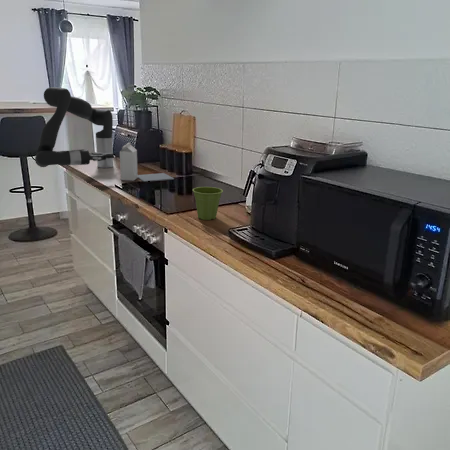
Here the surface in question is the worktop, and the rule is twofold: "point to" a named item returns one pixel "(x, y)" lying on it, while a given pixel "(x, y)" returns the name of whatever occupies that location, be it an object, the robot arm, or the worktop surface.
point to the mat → (154, 177)
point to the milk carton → (128, 163)
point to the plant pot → (207, 201)
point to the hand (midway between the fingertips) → (113, 155)
